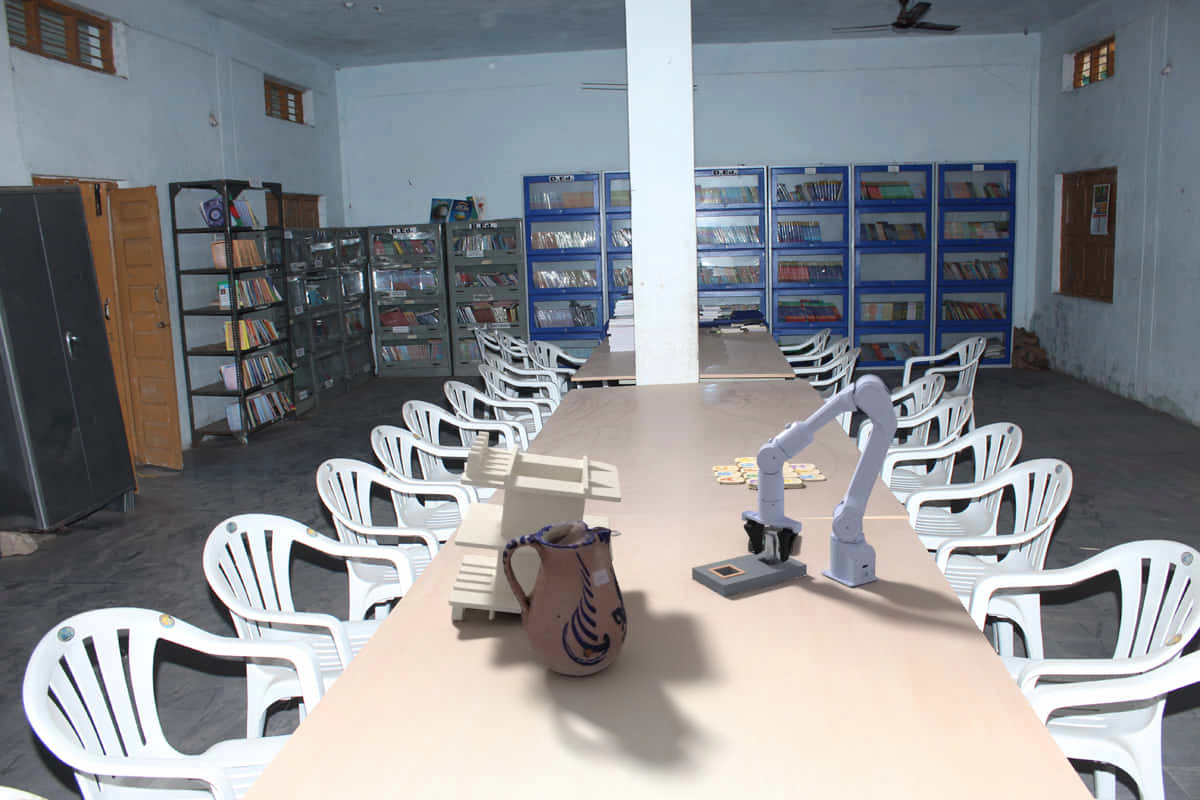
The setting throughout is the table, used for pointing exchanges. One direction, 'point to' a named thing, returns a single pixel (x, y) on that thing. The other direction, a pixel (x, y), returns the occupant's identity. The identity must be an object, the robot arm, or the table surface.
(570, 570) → the ceramic pitcher
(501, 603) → the desk organizer
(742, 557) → the dock plate
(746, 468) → the alphabet tiles
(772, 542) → the steel pin
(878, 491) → the table surface
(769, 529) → the disk drive
